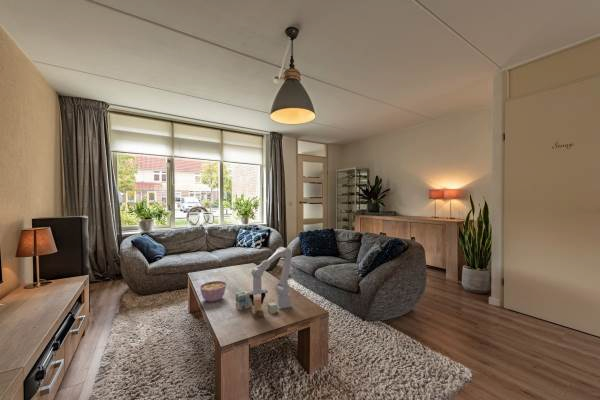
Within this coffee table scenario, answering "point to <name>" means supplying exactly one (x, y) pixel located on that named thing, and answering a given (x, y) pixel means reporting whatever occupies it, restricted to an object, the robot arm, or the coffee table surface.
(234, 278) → the coffee table surface
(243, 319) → the coffee table surface
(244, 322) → the coffee table surface
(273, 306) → the sage cube
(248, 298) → the light bulb box
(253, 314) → the walnut base
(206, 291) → the bowl of food
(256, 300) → the terracotta cube
